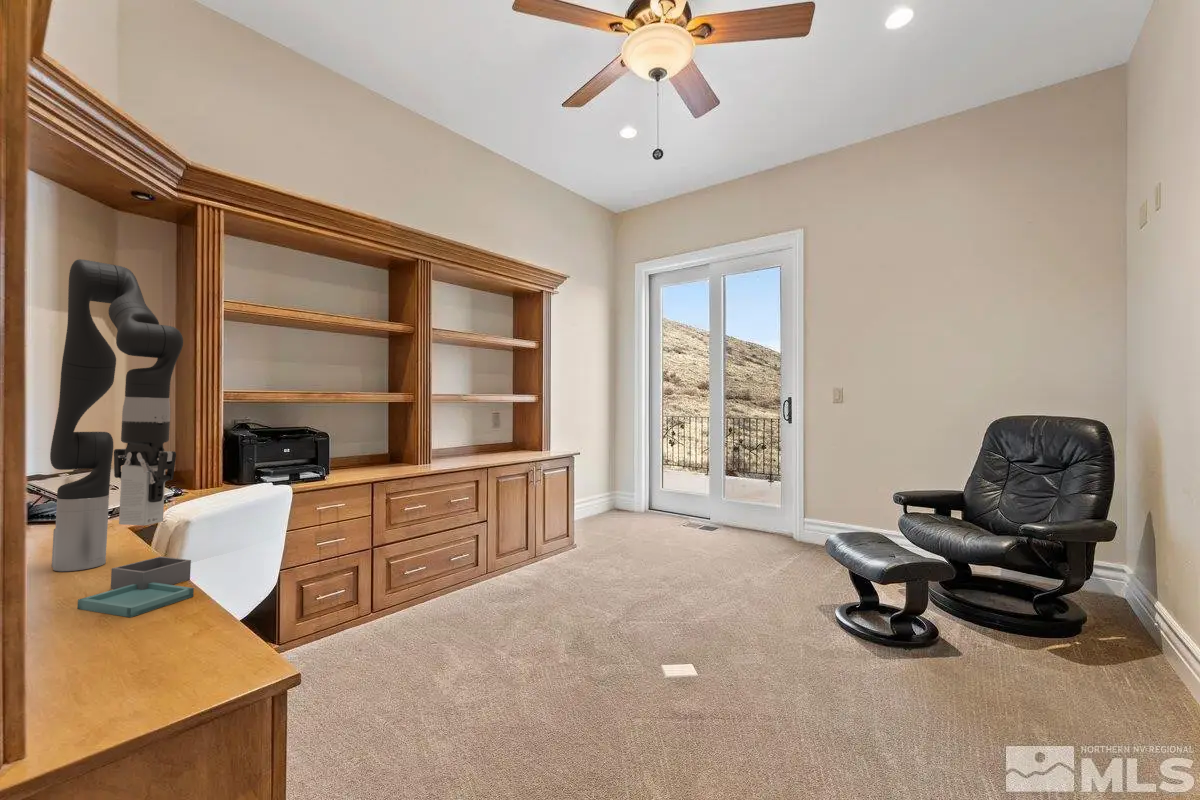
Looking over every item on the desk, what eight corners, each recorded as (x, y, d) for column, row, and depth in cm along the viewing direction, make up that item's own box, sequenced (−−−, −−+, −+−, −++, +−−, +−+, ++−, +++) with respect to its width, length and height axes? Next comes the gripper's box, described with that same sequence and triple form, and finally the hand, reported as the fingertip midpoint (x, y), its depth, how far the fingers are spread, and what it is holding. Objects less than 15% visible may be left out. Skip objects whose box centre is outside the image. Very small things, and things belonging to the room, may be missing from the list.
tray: (77, 608, 103) (77, 599, 103) (143, 589, 115) (144, 581, 115) (130, 617, 100) (131, 607, 100) (193, 596, 111) (193, 588, 111)
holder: (110, 589, 114) (111, 568, 114) (159, 575, 124) (160, 556, 124) (142, 593, 112) (143, 572, 112) (190, 579, 122) (190, 560, 122)
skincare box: (164, 521, 110) (167, 464, 110) (144, 526, 105) (147, 466, 106) (137, 520, 110) (140, 463, 110) (117, 524, 106) (120, 465, 106)
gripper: (99, 418, 106) (95, 501, 106) (153, 420, 103) (149, 506, 102) (140, 418, 114) (136, 495, 113) (191, 420, 110) (187, 500, 110)
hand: (142, 500), depth 108 cm, fingers closed on skincare box, 6 cm apart
